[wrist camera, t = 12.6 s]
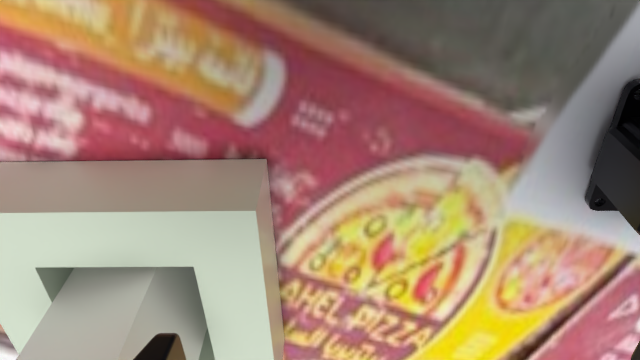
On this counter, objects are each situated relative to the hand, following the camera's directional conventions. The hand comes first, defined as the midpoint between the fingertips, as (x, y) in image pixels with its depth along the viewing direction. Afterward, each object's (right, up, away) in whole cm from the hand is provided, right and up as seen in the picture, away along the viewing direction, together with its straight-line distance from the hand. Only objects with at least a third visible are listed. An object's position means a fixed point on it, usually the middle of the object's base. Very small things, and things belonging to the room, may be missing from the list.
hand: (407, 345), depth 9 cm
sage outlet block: (-11, -1, +17) cm, 20 cm away
